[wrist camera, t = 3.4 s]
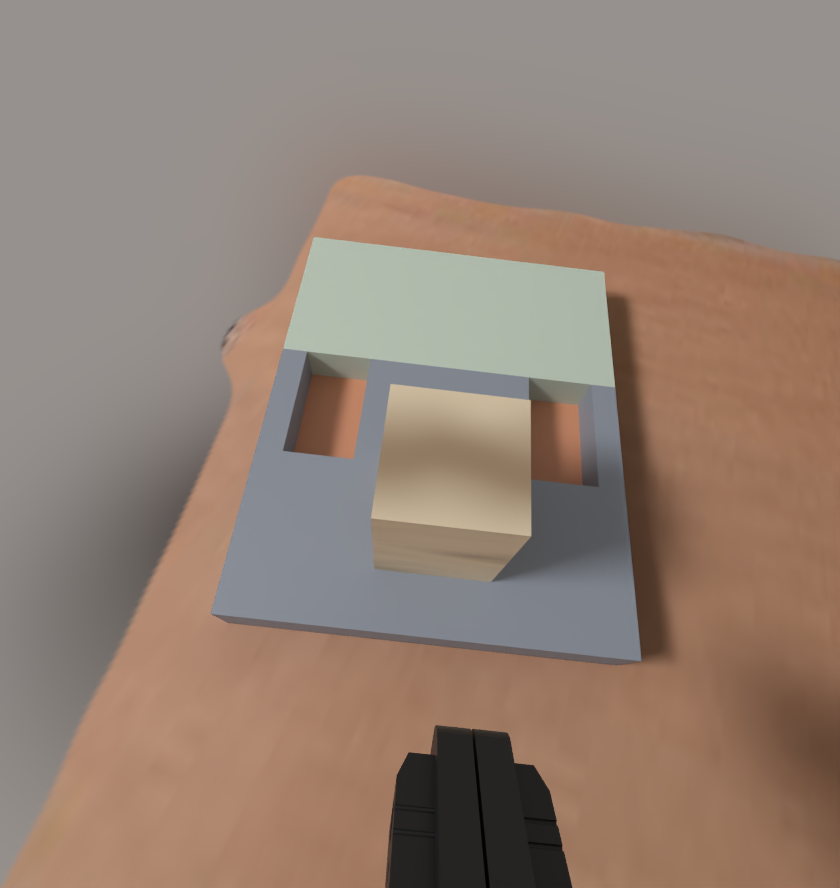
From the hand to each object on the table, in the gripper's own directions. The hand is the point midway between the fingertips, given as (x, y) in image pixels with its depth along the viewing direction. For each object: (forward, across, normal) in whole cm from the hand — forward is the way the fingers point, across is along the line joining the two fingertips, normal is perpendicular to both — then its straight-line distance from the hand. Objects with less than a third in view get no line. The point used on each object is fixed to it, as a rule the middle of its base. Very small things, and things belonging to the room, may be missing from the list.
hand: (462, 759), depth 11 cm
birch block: (+17, 0, +3) cm, 17 cm away
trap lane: (+24, 0, 0) cm, 24 cm away
